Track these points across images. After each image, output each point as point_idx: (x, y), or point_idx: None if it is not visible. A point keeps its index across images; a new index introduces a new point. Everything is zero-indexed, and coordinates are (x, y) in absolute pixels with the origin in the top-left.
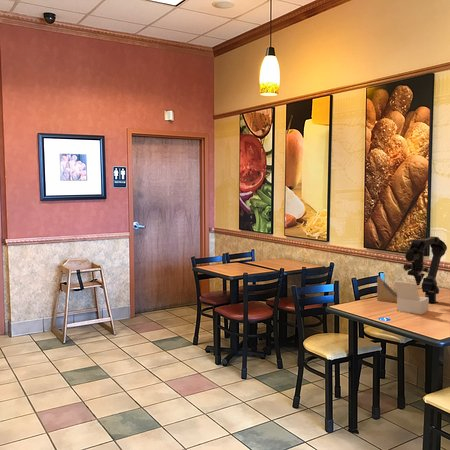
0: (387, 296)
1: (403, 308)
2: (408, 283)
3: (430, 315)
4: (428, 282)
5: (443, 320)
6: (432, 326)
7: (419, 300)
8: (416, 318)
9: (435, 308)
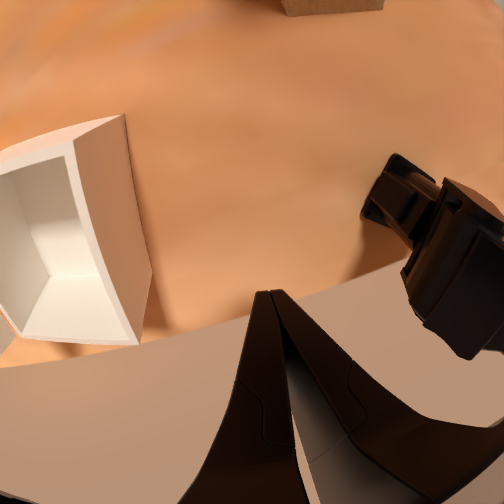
0: None
1: (2, 201)
2: None
3: None
4: (462, 305)
5: (75, 352)
6: None
7: (11, 337)
8: None
9: (249, 273)
